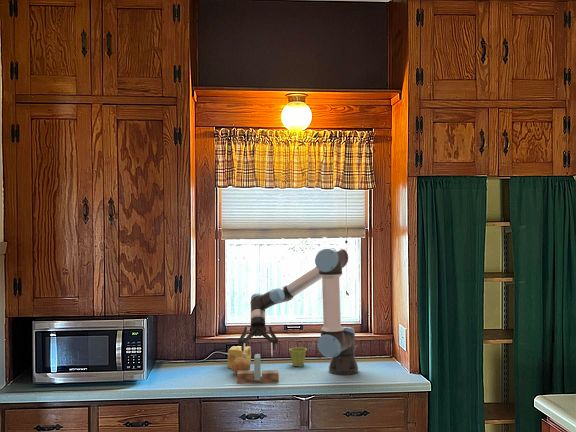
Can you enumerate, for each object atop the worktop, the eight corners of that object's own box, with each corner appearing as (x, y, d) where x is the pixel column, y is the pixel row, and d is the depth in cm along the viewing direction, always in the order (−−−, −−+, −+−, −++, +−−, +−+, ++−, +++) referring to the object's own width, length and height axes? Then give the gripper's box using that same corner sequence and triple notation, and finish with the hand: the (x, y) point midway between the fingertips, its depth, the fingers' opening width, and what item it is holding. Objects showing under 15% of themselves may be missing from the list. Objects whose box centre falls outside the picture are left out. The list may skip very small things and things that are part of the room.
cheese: (246, 369, 346) (246, 350, 346) (226, 368, 348) (226, 349, 348) (251, 364, 356) (251, 346, 356) (232, 363, 358) (232, 345, 358)
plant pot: (286, 364, 356) (286, 348, 356) (302, 362, 360) (302, 346, 360) (293, 368, 347) (293, 351, 347) (309, 366, 351) (309, 350, 351)
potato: (233, 378, 327) (233, 362, 327) (230, 371, 341) (230, 356, 341) (252, 377, 329) (252, 361, 329) (249, 370, 342) (249, 355, 342)
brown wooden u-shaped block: (278, 379, 324) (278, 370, 324) (278, 382, 318) (278, 373, 318) (237, 379, 324) (237, 370, 324) (237, 382, 318) (237, 373, 318)
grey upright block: (254, 376, 325) (254, 354, 324) (260, 376, 325) (260, 353, 325) (254, 380, 317) (254, 357, 316) (260, 380, 317) (260, 357, 317)
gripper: (281, 323, 344) (283, 359, 329) (234, 324, 343) (233, 360, 328) (282, 315, 339) (283, 350, 324) (233, 316, 338) (232, 351, 323)
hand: (258, 355), depth 326 cm, fingers open, 13 cm apart
